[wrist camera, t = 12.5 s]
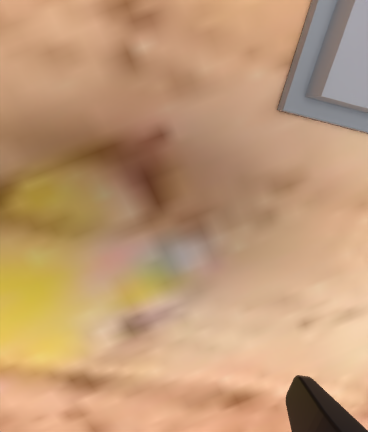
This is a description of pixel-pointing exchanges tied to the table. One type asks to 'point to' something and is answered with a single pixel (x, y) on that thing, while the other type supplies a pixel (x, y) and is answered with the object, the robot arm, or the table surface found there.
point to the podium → (331, 66)
